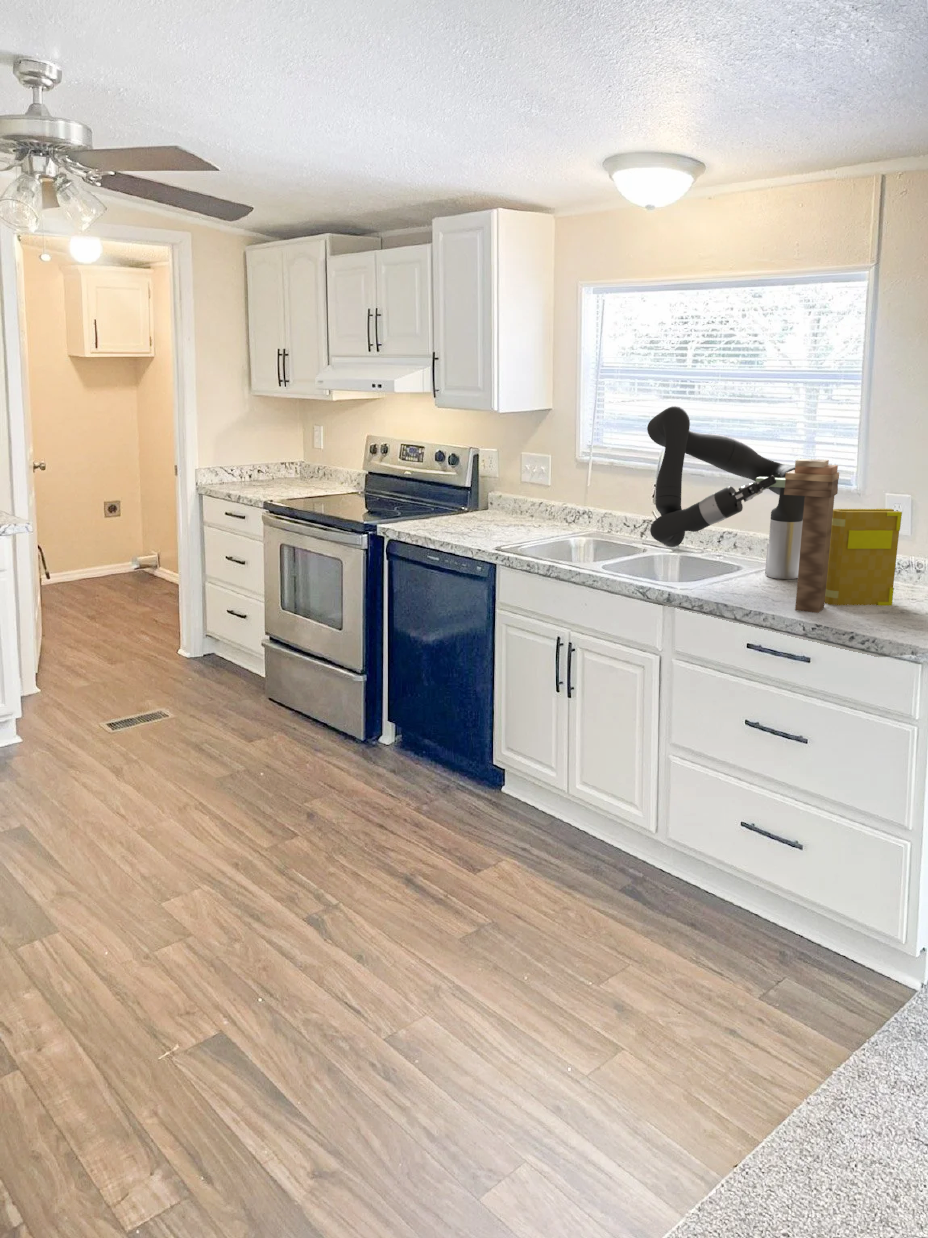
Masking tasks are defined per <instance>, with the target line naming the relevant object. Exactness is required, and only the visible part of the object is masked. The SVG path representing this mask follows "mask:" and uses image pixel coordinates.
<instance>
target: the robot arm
mask: <svg viewBox="0 0 928 1238" xmlns="http://www.w3.org/2000/svg"><path fill="white" fill-rule="evenodd" d="M690 420H691V419H690V417H689V415H688V413H687V412H686V410H684V408H682V407H680V406H676V405H674V406H673V405H672V406H669V407H668V408H666V409H663V410H662V411H661V412H659V413H658V414H656V415H655V416H654V417H653V418H651V420H650V421H649V422H648V424H647V427H646V429H647V433H648V437H649V438H650V439H651V440H652V441H653V442H654V443H655V444H657V445H659V446H661V447H664V453H663V459H662V461H661V465H660V467H659V470H658V475H657V477H656V485H655V508H656V510H657V512H658V513H659V514H660V516H658V517H657V518H656V519H654V521H653V522H652V524H651V526H650V529H649V531H650V535H651V537H652V538H653V540H655V541H657V542H659V543H661V544H662V545H665V546H667V547H669V548H676V547H678V546H679V545H681V544H682V542H683V540H684V539H685V535H686V532H693V533H694V532H696V533H697V532H699V531H701V530H704V529H705V528H708V527H709V526H712V525H714V524H717V523H720V522H722V521H724V520H727V519H728V518H730V517H732V516H733V517H734V516H735V515H736V514H738V513H741V512H742V511H743V509H744V508H743V507H744V506H743V503H742V501H744V503H746V502H748V501H750V500H752V499H753V498H754V497H756V496H759V495H760V494H762V493H763V491H765V490H770V492H773V493H774V494H776V495H778V504H777V506H776V507H774V508H772V509H771V512H770V523H769V536H768V537H769V538H768V543H767V544H766V555H765V558H766V559H765V572H764V574H765V575H766V577H769V578H772V579H778V580H793V579H794V580H795V579H798V570H799V558H800V547H801V535H802V523H803V511H804V499H805V496H797V495H784V489H785V488H783V487H769V486H771V485H773V484H775V483H776V479H775V478H785V475H786V473H787V472H789V471H792V470H795V465H790V464H785V463H780V462H777V461H774V460H771V459H769V458H766V457H764V456H761V454H759V453H758V452H756V451H755V450H754V449H753V448H751V447H750V446H748V445H747V444H745V443H743V442H742V441H739V440H737V439H734V438H732V437H730V436H727V435H723V434H716V433H706V432H697V431H693V430H691V428H690V426H691V422H690ZM686 455H688V456H691V457H693V458H695V459H698V460H700V461H703V462H705V463H707V464H709V465H712V466H713V467H715V468H718V469H720V470H723V471H724V472H728V473H730V474H732V475H735V476H738V477H741V478H746V479H748V480H752V481H753V482H751V483H749V484H746V485H743V486H741V487H738V491H736V489H735V488H734V487H733V486H731V485H729V486H726V487H724V488H722V489H720V490H718V491H716V492H714V493H712V494H710V495H708V496H707V497H705V498H703V499H701V501H698V502H696V503H694V504H693V505H690V506H689V507H687V508H684V509H683V508H682V483H683V482H682V481H683V480H682V479H683V471H684V470H683V469H684V463H685V456H686ZM758 477H768V478H766V479H764V480H762V481H760V482H756V478H758Z"/></svg>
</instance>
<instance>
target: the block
mask: <svg viewBox="0 0 928 1238" xmlns="http://www.w3.org/2000/svg"><path fill="white" fill-rule="evenodd" d="M766 478H768V477H758V478H756V482H760V481H762V480H764V479H766ZM775 479H776V483H775V484H773V485H771V486H769V487H783V488H785V480H786V479H785V478H775Z"/></svg>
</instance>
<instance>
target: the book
mask: <svg viewBox="0 0 928 1238" xmlns="http://www.w3.org/2000/svg"><path fill="white" fill-rule="evenodd" d="M902 515H903V512H902V511H900V510H899V511H897V510H896V511H895V509H894V508H833V517H832V528H831V539H830V550H829V561H828V572H827V583H826V594H825V604H826V605H832V606H880V607H881V606H882V607H884V606H887V607H888V606H889V607H890V606H893V597H894V589H895V588H894V582H895V574H896V564H897V555H898V544H899V537H900V536H899V535H900V531H901V525H902V523H901V522H902Z"/></svg>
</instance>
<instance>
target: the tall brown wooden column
mask: <svg viewBox="0 0 928 1238" xmlns="http://www.w3.org/2000/svg"><path fill="white" fill-rule="evenodd" d="M829 462H830V461H829V459H816V458H814V459H813V458H798V459H796V460H795V461H794V466H795V470H792V471H789V472H787V473H786V475H785V479H786V480H785V489H784V495H797V496H805V499H804V511H803V523H802V535H801V547H800V558H799V570H798V578H797V584H796V595H795V596H796V597H795V598H796V599H795V607H794V610H795V611H798V612H806V613H814V614H816V613H817V614H820V613H821V612H822V611H823V609H825V606H826V605H825V604H826V603H825V594H826V583H827V572H828V561H829V550H830V539H831V528H832V517H833V509H834V505H835V502H834V501H835V496H836V495H838V494H839V493H838V491H839V489H838V486H839V479H840V472H838V467H839V465H838V464H829Z"/></svg>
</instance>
